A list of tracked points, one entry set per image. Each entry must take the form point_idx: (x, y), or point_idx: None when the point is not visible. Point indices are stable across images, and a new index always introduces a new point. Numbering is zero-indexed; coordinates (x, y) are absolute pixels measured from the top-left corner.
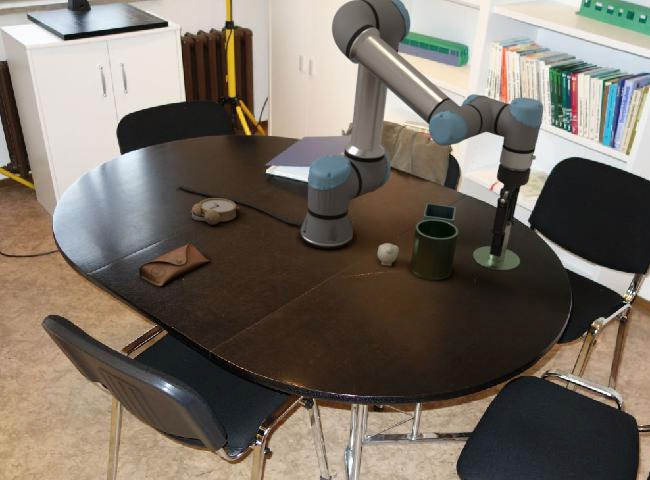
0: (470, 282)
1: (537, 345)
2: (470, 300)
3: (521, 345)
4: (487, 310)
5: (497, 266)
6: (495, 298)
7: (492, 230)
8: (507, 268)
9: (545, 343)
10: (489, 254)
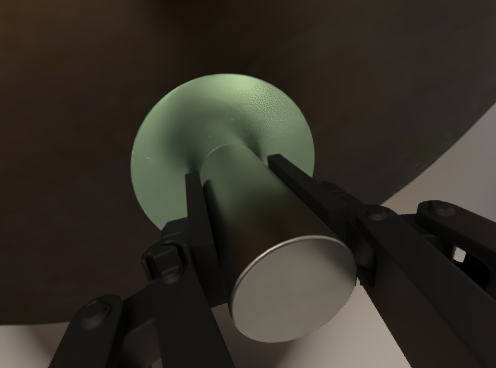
0: None
1: None
2: (116, 127)
3: (52, 298)
4: (112, 185)
5: (168, 210)
6: None
7: (85, 317)
8: None
9: None
10: (212, 155)
